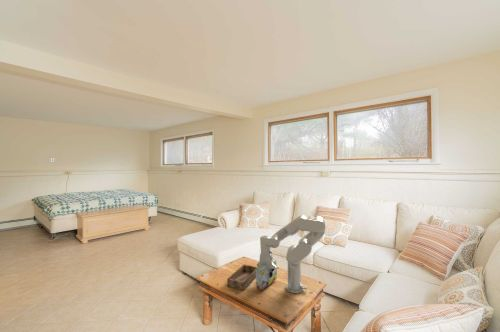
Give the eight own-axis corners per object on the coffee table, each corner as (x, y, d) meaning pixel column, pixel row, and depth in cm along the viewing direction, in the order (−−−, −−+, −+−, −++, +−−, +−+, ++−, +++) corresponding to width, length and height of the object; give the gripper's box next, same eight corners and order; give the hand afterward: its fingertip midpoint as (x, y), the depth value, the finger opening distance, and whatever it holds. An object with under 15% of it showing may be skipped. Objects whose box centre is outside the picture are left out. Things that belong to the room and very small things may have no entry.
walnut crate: (258, 274, 196) (258, 267, 195) (243, 290, 171) (243, 282, 171) (243, 271, 202) (243, 264, 201) (227, 286, 177) (227, 279, 177)
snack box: (262, 291, 168) (261, 270, 168) (256, 288, 171) (255, 268, 171) (277, 278, 185) (276, 259, 184) (271, 276, 188) (270, 258, 188)
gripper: (278, 252, 177) (279, 275, 177) (257, 249, 185) (258, 272, 185) (274, 256, 170) (275, 280, 171) (253, 253, 178) (254, 276, 178)
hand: (266, 275), depth 178 cm, fingers closed on snack box, 6 cm apart
